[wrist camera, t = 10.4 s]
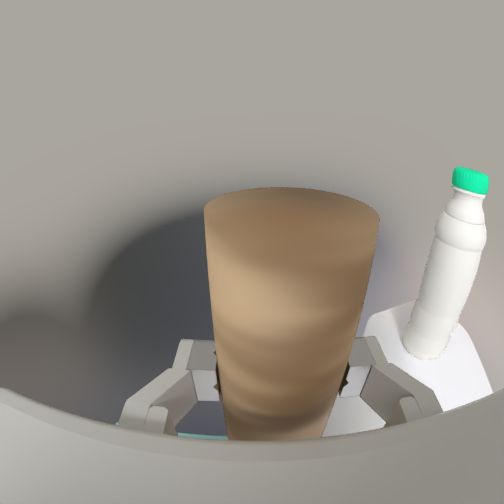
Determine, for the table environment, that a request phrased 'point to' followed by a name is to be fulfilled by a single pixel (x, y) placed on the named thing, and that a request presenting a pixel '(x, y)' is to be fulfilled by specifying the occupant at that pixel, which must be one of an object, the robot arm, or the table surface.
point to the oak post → (285, 304)
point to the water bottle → (449, 267)
